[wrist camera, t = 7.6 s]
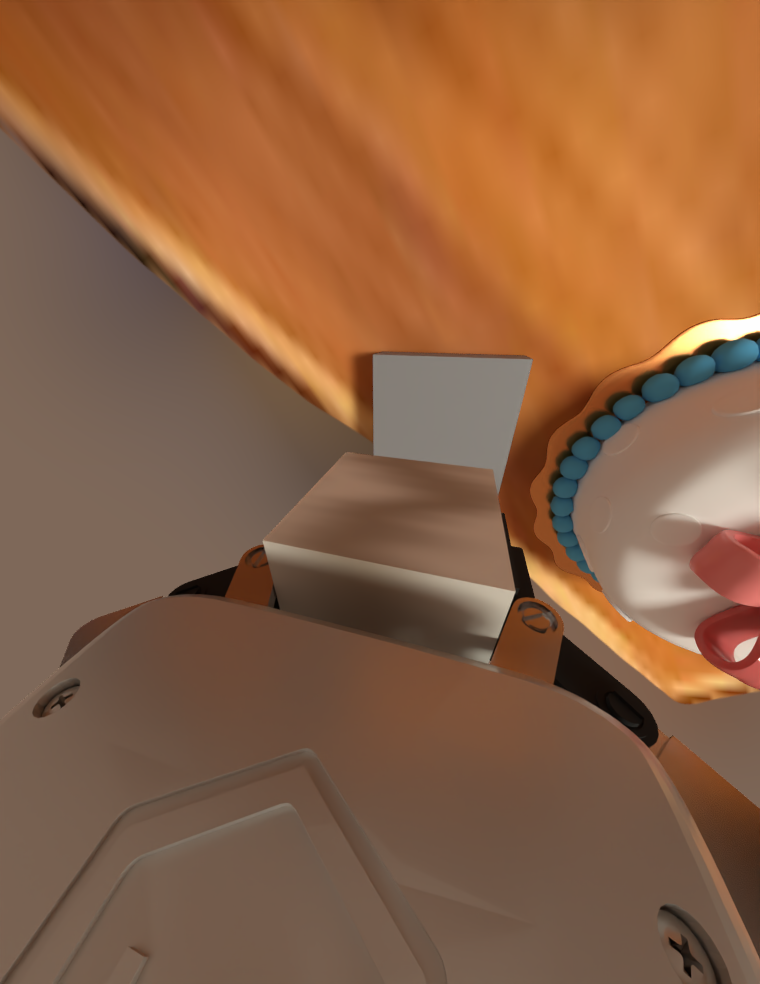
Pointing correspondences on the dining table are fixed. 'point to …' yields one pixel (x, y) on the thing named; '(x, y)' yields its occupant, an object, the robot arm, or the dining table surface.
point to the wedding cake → (668, 493)
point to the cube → (398, 553)
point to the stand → (448, 407)
